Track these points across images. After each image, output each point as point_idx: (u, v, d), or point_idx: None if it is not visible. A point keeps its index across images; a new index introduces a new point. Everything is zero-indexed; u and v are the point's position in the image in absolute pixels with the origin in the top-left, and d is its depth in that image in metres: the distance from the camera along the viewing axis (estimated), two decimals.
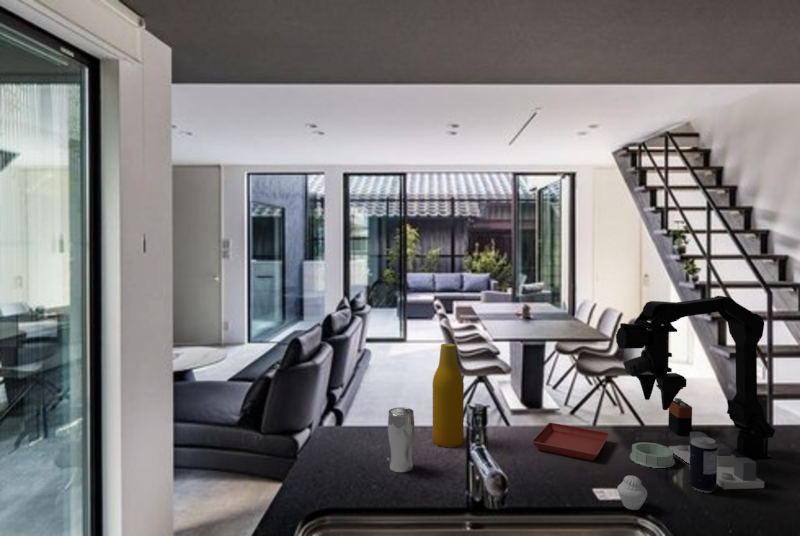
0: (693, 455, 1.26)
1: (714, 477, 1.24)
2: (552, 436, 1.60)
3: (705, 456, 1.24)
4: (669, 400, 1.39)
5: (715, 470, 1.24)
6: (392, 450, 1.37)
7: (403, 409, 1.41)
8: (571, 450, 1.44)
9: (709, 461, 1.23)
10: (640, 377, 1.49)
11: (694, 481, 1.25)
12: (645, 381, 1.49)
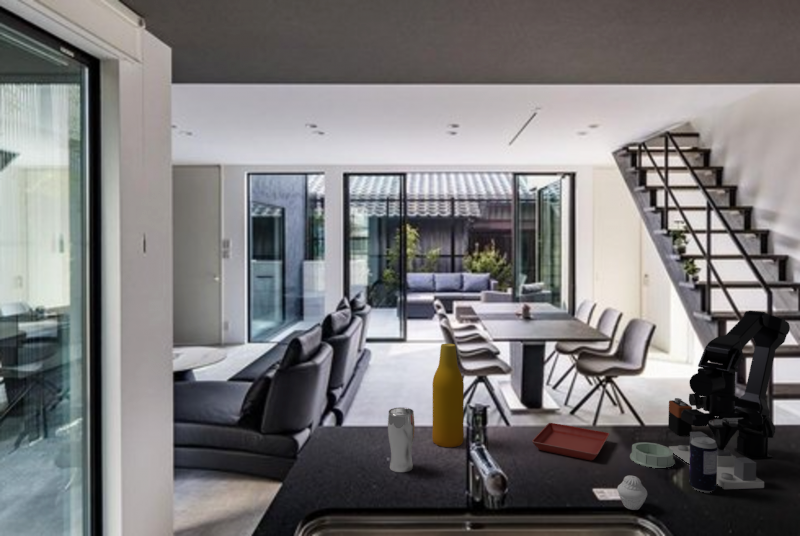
0: (693, 455, 1.26)
1: (714, 477, 1.24)
2: (551, 436, 1.60)
3: (705, 456, 1.24)
4: (717, 439, 1.37)
5: (715, 470, 1.24)
6: (392, 450, 1.37)
7: (403, 409, 1.41)
8: (571, 450, 1.44)
9: (709, 461, 1.23)
10: None
11: (694, 481, 1.25)
12: None
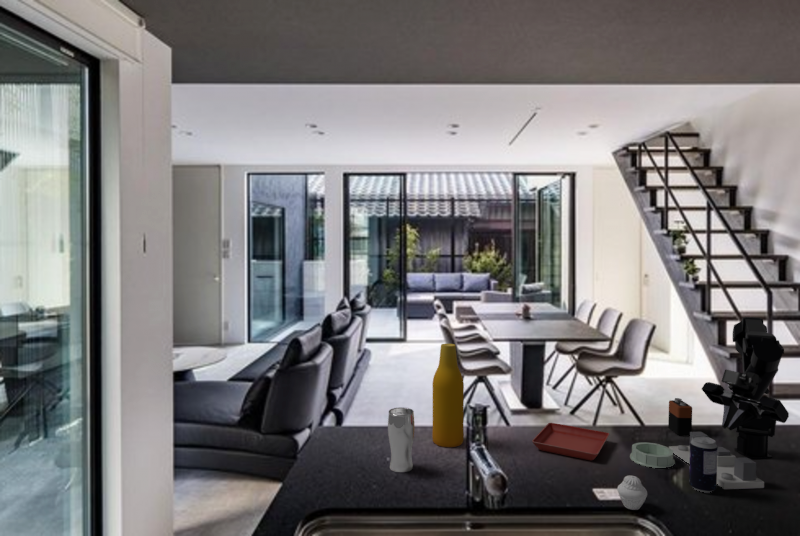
0: (693, 455, 1.26)
1: (714, 477, 1.24)
2: (551, 436, 1.60)
3: (705, 456, 1.24)
4: (740, 422, 1.29)
5: (715, 470, 1.24)
6: (392, 450, 1.37)
7: (403, 409, 1.41)
8: (571, 450, 1.44)
9: (709, 461, 1.23)
10: (730, 402, 1.31)
11: (694, 481, 1.25)
12: (731, 409, 1.31)
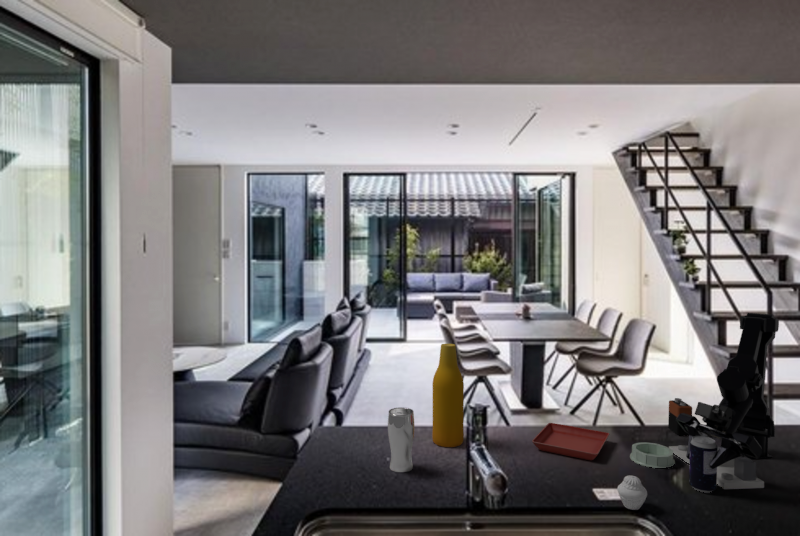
0: (693, 455, 1.26)
1: (714, 477, 1.24)
2: (551, 436, 1.60)
3: (705, 456, 1.24)
4: (723, 460, 1.23)
5: (715, 470, 1.24)
6: (392, 450, 1.37)
7: (403, 409, 1.41)
8: (571, 450, 1.44)
9: (709, 461, 1.23)
10: (695, 432, 1.30)
11: (694, 481, 1.25)
12: None
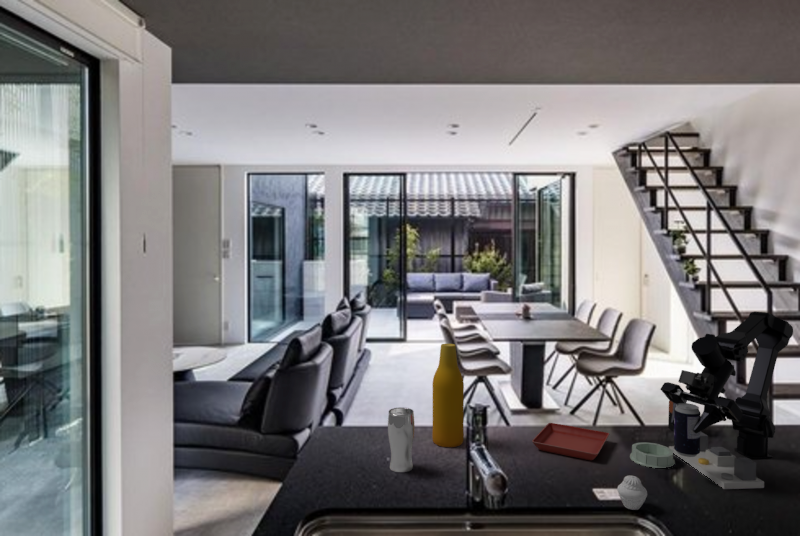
0: (677, 421, 1.31)
1: (697, 441, 1.29)
2: (551, 436, 1.60)
3: (689, 421, 1.29)
4: (705, 425, 1.28)
5: (698, 435, 1.29)
6: (392, 450, 1.37)
7: (403, 409, 1.41)
8: (571, 450, 1.44)
9: (693, 426, 1.28)
10: (679, 399, 1.35)
11: (679, 445, 1.30)
12: None
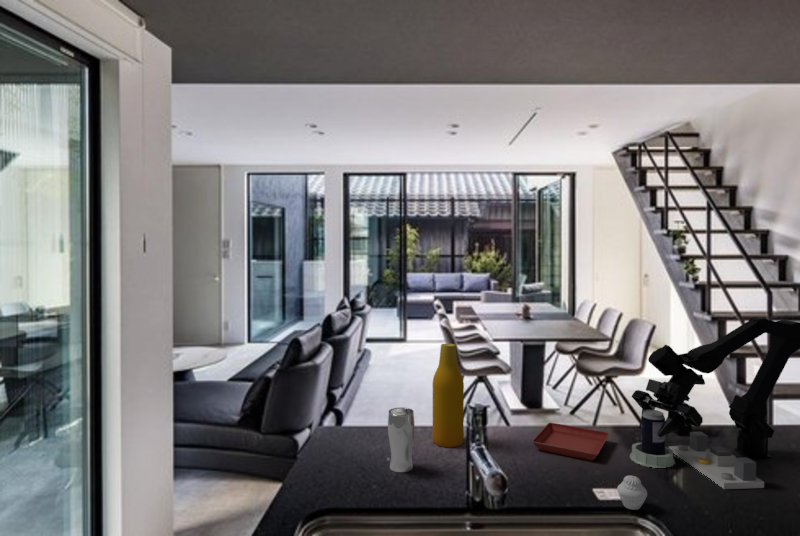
0: (643, 426, 1.42)
1: (662, 445, 1.40)
2: (551, 436, 1.60)
3: (654, 426, 1.40)
4: (669, 429, 1.40)
5: (663, 439, 1.41)
6: (392, 450, 1.37)
7: (403, 409, 1.41)
8: (571, 450, 1.44)
9: (658, 431, 1.40)
10: (647, 406, 1.47)
11: (645, 449, 1.42)
12: None
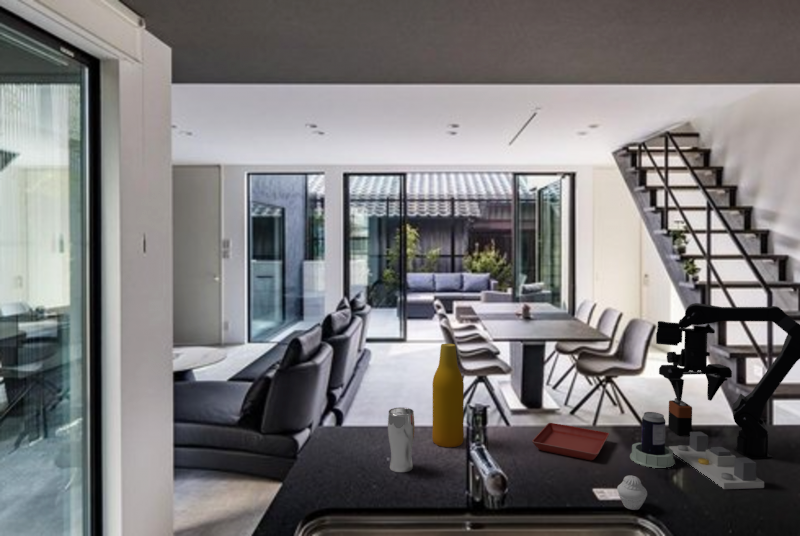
0: (644, 428, 1.42)
1: (662, 447, 1.41)
2: (551, 436, 1.60)
3: (654, 429, 1.40)
4: (677, 391, 1.53)
5: (663, 441, 1.41)
6: (392, 450, 1.37)
7: (403, 409, 1.41)
8: (571, 450, 1.44)
9: (658, 433, 1.40)
10: (707, 377, 1.56)
11: (645, 451, 1.42)
12: (710, 382, 1.54)
